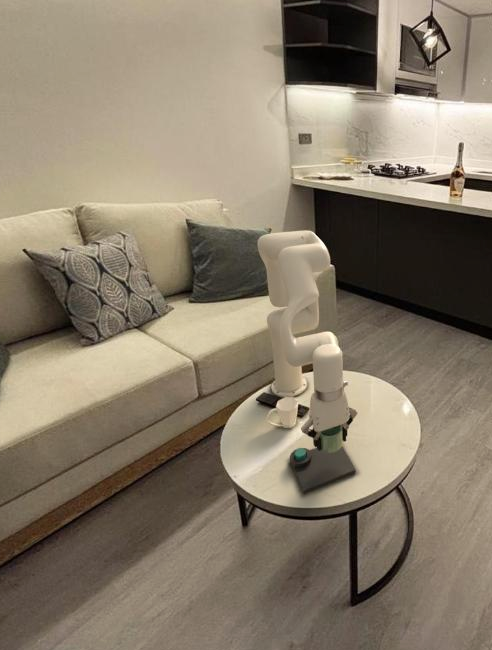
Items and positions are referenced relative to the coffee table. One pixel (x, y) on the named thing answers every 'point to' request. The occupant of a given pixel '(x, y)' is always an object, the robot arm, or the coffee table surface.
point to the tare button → (300, 454)
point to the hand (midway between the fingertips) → (330, 442)
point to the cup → (286, 412)
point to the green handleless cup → (331, 439)
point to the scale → (321, 468)
